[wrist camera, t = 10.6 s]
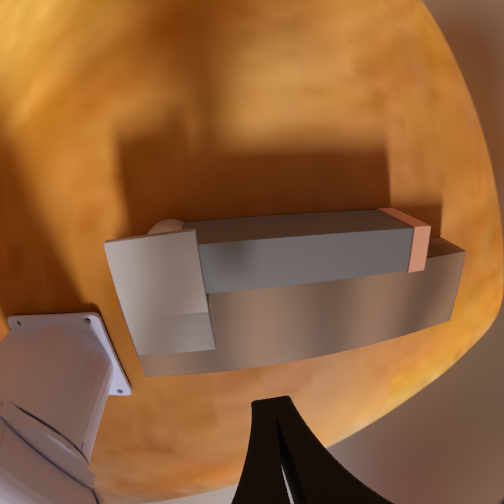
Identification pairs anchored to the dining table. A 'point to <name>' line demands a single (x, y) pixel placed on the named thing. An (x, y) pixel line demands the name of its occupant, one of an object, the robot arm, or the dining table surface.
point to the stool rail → (265, 308)
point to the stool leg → (304, 247)
